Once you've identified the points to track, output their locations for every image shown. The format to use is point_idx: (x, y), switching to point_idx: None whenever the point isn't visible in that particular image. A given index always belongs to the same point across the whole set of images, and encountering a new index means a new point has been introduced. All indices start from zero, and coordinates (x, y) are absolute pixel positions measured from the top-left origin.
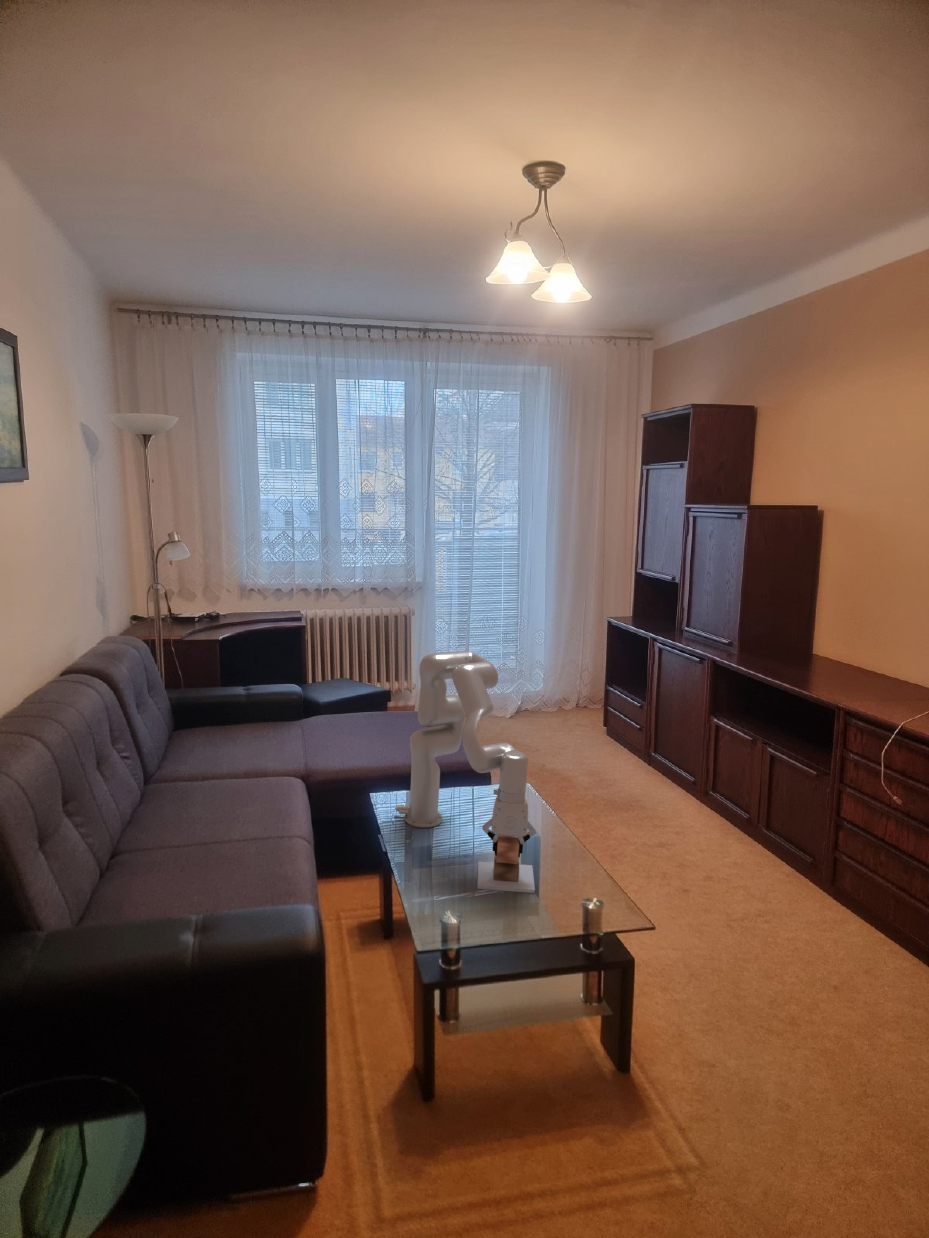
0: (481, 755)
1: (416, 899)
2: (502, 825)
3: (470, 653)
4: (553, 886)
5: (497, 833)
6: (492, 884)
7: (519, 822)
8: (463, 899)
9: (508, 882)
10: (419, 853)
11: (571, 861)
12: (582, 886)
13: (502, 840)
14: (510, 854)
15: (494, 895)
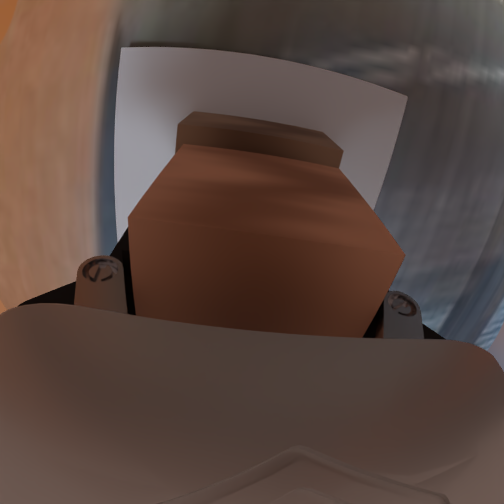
0: None
1: None
2: (458, 489)
3: None
4: (49, 125)
5: (458, 349)
6: (337, 93)
7: None
8: (458, 38)
9: (247, 106)
10: (465, 324)
11: (21, 291)
12: None
13: (334, 299)
14: (241, 173)
15: (332, 32)
